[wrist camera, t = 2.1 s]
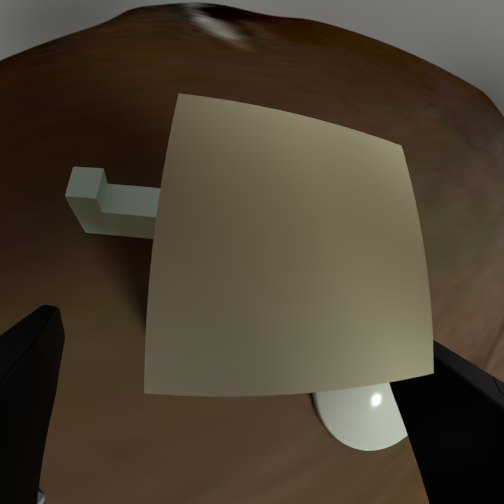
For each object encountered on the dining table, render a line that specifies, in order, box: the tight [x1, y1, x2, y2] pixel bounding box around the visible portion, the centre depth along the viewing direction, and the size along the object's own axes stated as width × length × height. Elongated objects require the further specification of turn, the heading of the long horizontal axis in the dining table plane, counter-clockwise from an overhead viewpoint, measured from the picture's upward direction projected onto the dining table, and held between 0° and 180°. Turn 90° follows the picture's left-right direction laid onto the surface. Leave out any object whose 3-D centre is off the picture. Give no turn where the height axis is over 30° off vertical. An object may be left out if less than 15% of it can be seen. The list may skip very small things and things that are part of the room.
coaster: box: [312, 382, 408, 451], centre depth 17 cm, size 10×10×1 cm
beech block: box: [144, 94, 434, 397], centre depth 10 cm, size 4×4×13 cm
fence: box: [65, 167, 160, 239], centre depth 15 cm, size 2×14×4 cm, turn 89°
